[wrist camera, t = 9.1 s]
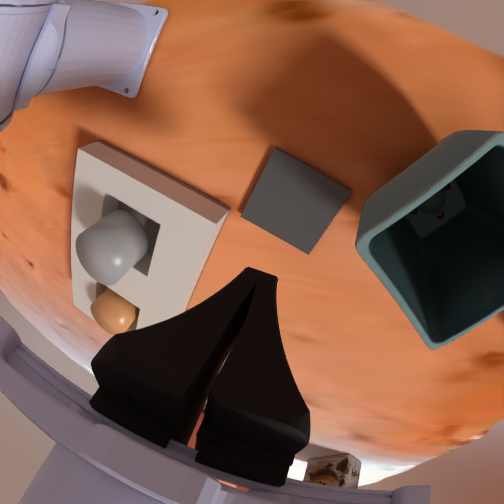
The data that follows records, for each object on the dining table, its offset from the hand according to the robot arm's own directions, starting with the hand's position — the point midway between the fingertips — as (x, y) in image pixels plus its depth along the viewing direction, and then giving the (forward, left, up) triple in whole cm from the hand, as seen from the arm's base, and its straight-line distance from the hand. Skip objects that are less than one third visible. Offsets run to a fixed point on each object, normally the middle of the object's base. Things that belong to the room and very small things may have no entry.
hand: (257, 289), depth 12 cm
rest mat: (0, 0, -10) cm, 10 cm away
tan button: (-11, -20, -10) cm, 24 cm away
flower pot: (+8, +6, -11) cm, 15 cm away
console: (-11, -14, -10) cm, 21 cm away
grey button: (-11, -8, -7) cm, 16 cm away
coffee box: (+33, -39, -11) cm, 52 cm away
